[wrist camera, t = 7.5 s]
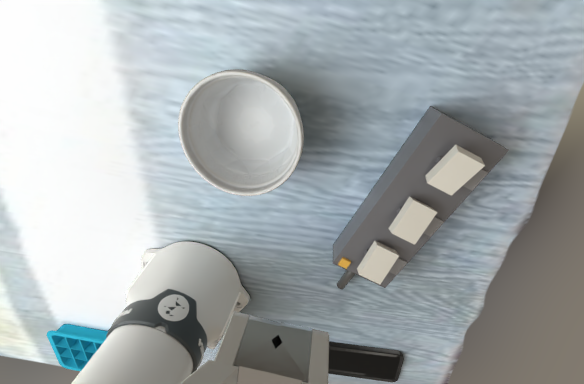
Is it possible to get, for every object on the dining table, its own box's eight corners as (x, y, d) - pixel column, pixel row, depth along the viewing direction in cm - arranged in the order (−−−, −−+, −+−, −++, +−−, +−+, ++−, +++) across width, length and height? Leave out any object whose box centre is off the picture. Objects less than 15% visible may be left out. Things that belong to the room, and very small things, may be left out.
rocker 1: (377, 278, 38) (380, 284, 36) (356, 268, 37) (358, 274, 36) (395, 250, 37) (399, 255, 35) (374, 240, 36) (377, 245, 35)
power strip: (362, 289, 46) (365, 313, 42) (316, 267, 45) (315, 290, 41) (490, 139, 33) (512, 152, 29) (430, 106, 33) (443, 115, 29)
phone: (316, 343, 52) (404, 355, 50) (316, 338, 53) (403, 349, 51) (314, 371, 55) (396, 383, 53) (314, 366, 56) (395, 377, 54)
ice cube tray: (158, 370, 64) (151, 384, 61) (72, 354, 66) (61, 367, 63) (151, 334, 59) (142, 348, 56) (57, 318, 60) (44, 330, 58)
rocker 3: (449, 187, 32) (451, 195, 31) (425, 175, 32) (426, 183, 31) (481, 158, 29) (485, 165, 28) (455, 144, 29) (458, 151, 28)
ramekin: (285, 187, 40) (276, 214, 34) (193, 150, 39) (167, 169, 33) (326, 93, 34) (324, 103, 28) (218, 46, 33) (191, 46, 27)
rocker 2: (410, 239, 35) (414, 244, 33) (388, 228, 34) (391, 233, 33) (432, 207, 33) (437, 212, 32) (409, 196, 33) (413, 200, 32)
